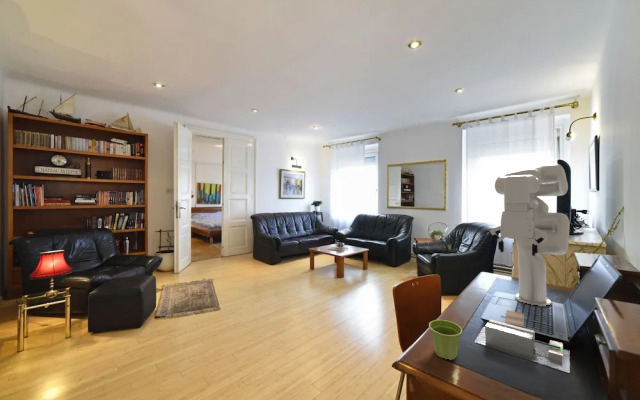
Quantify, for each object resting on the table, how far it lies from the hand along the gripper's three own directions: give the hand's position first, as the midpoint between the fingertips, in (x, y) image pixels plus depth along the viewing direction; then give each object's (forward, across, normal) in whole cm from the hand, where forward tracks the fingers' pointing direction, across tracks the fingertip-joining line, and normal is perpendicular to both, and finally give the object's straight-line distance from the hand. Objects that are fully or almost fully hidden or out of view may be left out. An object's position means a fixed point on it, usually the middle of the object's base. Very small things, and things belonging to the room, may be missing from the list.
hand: (517, 253), depth 98 cm
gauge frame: (+26, -2, +19) cm, 33 cm away
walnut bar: (+26, 0, +10) cm, 28 cm away
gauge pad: (+26, -3, +18) cm, 31 cm away
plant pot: (+26, +14, +38) cm, 48 cm away
